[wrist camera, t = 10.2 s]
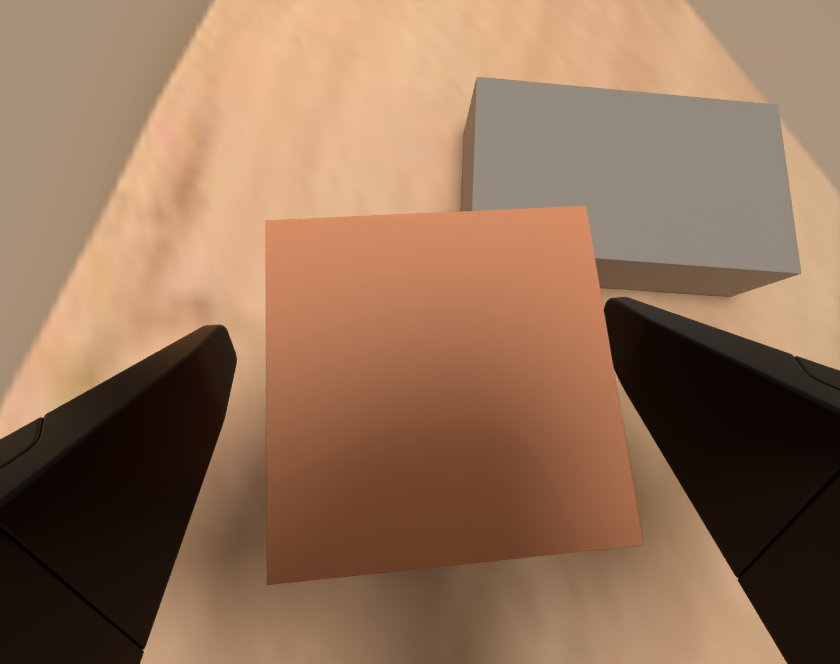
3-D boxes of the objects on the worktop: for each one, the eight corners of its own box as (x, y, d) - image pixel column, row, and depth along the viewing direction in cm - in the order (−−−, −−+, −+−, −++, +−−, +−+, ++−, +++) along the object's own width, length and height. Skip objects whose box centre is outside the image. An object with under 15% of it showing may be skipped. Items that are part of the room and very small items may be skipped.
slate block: (731, 296, 17) (801, 273, 14) (457, 277, 16) (470, 248, 13) (716, 153, 18) (778, 104, 15) (464, 131, 18) (477, 76, 15)
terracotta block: (490, 456, 14) (644, 545, 5) (352, 469, 14) (266, 584, 5) (476, 323, 15) (586, 205, 6) (346, 332, 15) (265, 220, 6)
